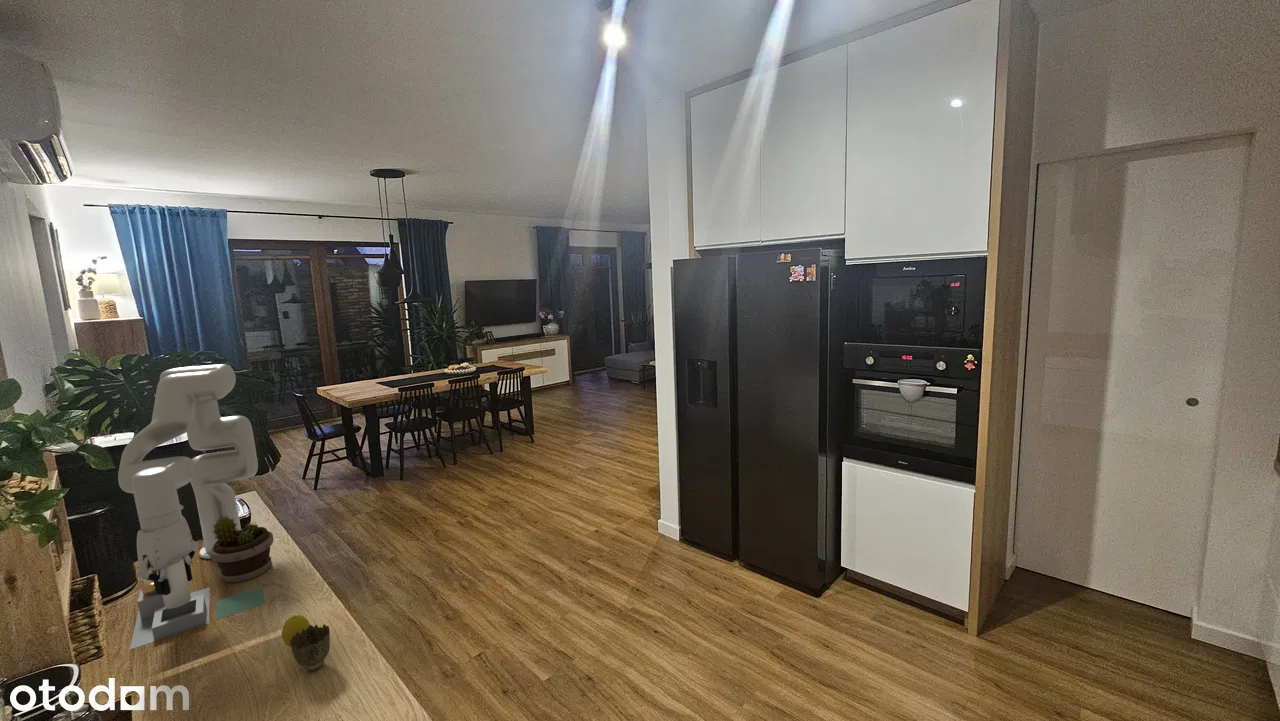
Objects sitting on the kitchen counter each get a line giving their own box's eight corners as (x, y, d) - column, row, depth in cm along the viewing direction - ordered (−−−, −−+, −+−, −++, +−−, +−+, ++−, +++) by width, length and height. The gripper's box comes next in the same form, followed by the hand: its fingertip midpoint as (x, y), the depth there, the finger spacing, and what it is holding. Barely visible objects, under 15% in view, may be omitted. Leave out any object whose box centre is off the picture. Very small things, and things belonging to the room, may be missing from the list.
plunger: (146, 605, 139) (142, 582, 138) (169, 598, 142) (164, 576, 141) (145, 613, 136) (140, 590, 135) (167, 606, 138) (163, 583, 137)
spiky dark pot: (341, 655, 121) (337, 623, 120) (319, 680, 114) (314, 647, 113) (310, 654, 122) (306, 622, 121) (286, 679, 115) (281, 645, 113)
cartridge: (159, 607, 131) (149, 563, 129) (179, 595, 136) (170, 552, 134) (176, 609, 130) (167, 564, 128) (196, 596, 135) (187, 553, 133)
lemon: (283, 658, 121) (278, 626, 119) (286, 644, 126) (281, 613, 124) (311, 650, 123) (307, 618, 122) (313, 636, 128) (308, 605, 127)
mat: (217, 604, 142) (216, 600, 142) (263, 589, 148) (262, 586, 148) (217, 623, 134) (216, 619, 134) (265, 606, 140) (265, 603, 140)
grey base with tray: (139, 612, 140) (135, 591, 139) (210, 590, 149) (206, 570, 148) (130, 653, 124) (125, 630, 123) (209, 626, 133) (205, 604, 132)
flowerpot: (283, 557, 165) (274, 495, 162) (269, 583, 151) (258, 517, 148) (227, 567, 160) (216, 504, 157) (206, 595, 146) (194, 527, 143)
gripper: (181, 502, 138) (193, 567, 141) (109, 535, 121) (125, 608, 125) (207, 503, 137) (219, 568, 140) (138, 537, 120) (153, 609, 124)
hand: (174, 586), depth 132 cm, fingers closed on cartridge, 5 cm apart
